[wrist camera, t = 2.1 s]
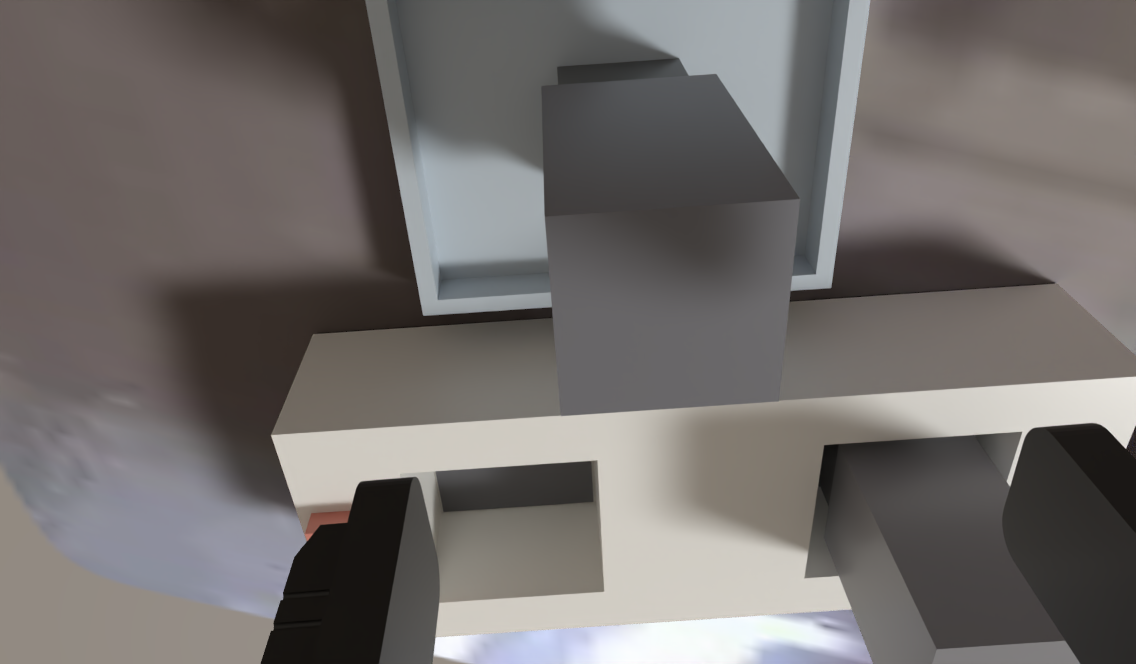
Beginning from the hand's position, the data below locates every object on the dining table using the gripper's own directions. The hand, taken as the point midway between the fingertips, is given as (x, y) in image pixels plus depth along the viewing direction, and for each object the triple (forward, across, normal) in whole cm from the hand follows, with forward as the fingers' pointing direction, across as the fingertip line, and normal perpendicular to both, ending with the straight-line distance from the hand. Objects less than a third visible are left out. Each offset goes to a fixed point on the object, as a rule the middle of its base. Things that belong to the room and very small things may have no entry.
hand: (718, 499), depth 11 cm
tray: (+14, 0, -1) cm, 14 cm away
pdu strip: (+14, -2, +10) cm, 18 cm away
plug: (+14, 0, -1) cm, 14 cm away
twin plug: (+13, -8, +10) cm, 19 cm away
